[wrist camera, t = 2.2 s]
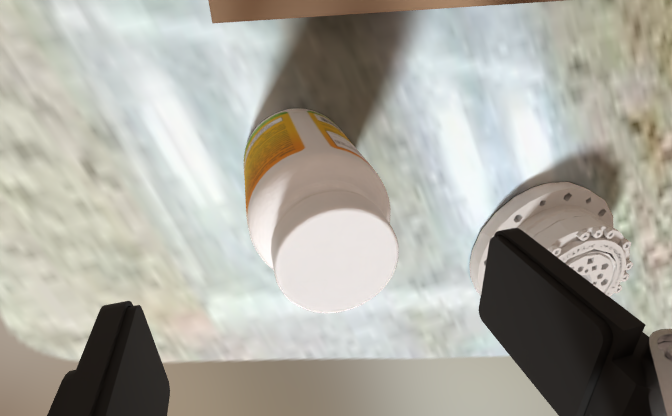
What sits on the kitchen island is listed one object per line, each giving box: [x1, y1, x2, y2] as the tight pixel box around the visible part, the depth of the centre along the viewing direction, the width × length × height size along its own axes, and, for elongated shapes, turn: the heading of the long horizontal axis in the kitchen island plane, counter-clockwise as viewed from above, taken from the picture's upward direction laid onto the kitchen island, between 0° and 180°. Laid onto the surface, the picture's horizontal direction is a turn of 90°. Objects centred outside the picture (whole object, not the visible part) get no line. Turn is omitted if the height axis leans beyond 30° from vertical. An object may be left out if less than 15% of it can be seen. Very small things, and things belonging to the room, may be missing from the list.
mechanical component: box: [470, 182, 633, 297], centre depth 26 cm, size 10×4×10 cm
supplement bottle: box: [244, 108, 399, 313], centre depth 16 cm, size 5×5×10 cm
